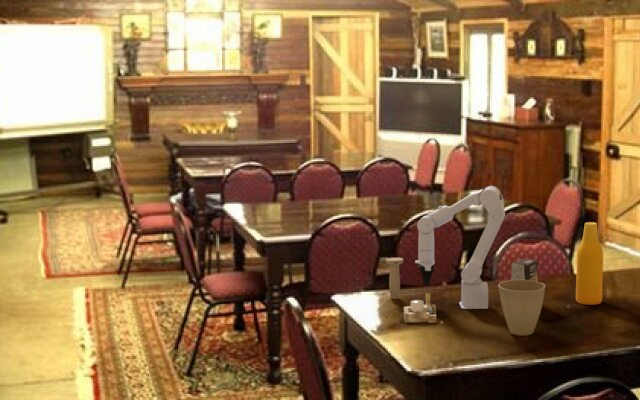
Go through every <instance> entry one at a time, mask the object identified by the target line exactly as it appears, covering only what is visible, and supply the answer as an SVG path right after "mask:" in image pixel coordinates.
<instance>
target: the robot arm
mask: <svg viewBox="0 0 640 400" xmlns="http://www.w3.org/2000/svg"><path fill="white" fill-rule="evenodd" d="M471 206H477V207H480V206H483V207H484V208H485V210H486V211H487V213H488V215H489V220H488V221H487V223H486V225H485V228H484V230H483V232H482V234H481V236H480V237H479V241H478V243H477V245H476V248H475V249H474V251H473V254H472V256H471V258H470V259H469V262H467V263H466V264H465V266H464V268H463V269H462V271H461V272H460V276H461V298H460V300H461V301H459V302H458V303H459V306H460V308H461V310H472V309H473V310H477V309H478V310H479V309H480V310H482V309H483V310H486V309H489V285H488V284H489V283H488V282H487V281H483V280H482V279H481V275H482V272H483V264H484V262H485V260H486V258H487V255H488V253H489V252H490V250H491V247H492V245H493V243H494V240H495V239H496V236H497V234H498V233H499V230H500V228H501V225H502V224H503V221H504V219H505V217H506V211H505V206H504V196H503V194H502V193H501V190H500V189H499V188H498V187H497V186H493V185H489V186H487V187H485V188H482V189H479V190H477V191H475V192H472V193H470V194H469V195H467V196H465V197H463V199H460V200H459V201H457V202H455V203H454V204H452V205H450V206H449V205H445V204H444V205H443V206H442V204H441V205H439V206H438V207H437V209H436V210H434V211H432V212H430V211H429V212H427V213H426V215H424V216H422V217H421V218H420V219H419V220H418V222H417V224H416V227H417V230H418V241H417V242H418V244H417V245H418V246H417V247H418V255H417V256H418V259H417V260H415V261H414V263H415V264H418V270H419V272H420V274H421V280H422V286H423V287H429V286H430V285H431V280H432V276H433V273H434V270H435V266H434V264H435V263H436V261H435V234H434V233H435V228H439V227H441V226H443V225H444V224H446V223H448V222H450V221H452V220H453V219H454V215H455V214H457V213H459V212H461V211H464V210H465V209H468V208H469V207H471Z"/></svg>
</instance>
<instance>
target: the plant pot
mask: <svg viewBox="0 0 640 400" xmlns="http://www.w3.org/2000/svg"><path fill="white" fill-rule="evenodd" d="M497 286H498V291H499V298H500V304H501V308H502V311H503V315H504V318H505V321H506V325H507V327H508V330H509V333H510V334H511V335H512V334H513V335H516V336H529V335H532V334H533V333H534V331H535V328H536V326H537V324H538V321H539V317H540V314H541V310H542V307H543V304H544V303H543V302H544V298H545V297H544V296H545V292H546V290H545V289H546V284H545V283H543V282H540V281H538V280H537V281H532V280H511V279H510V280H509V279H508V280H505V281H501V282H499V283H498V285H497Z"/></svg>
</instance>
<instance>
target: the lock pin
mask: <svg viewBox="0 0 640 400" xmlns="http://www.w3.org/2000/svg"><path fill="white" fill-rule="evenodd" d="M430 293H431V292H425V304H426V306H427V313H429V315H433V314H432V303H431V294H430Z"/></svg>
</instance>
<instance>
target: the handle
mask: <svg viewBox="0 0 640 400" xmlns="http://www.w3.org/2000/svg"><path fill="white" fill-rule="evenodd" d="M385 263H386V264H387V265H389V282H388V283H389V284H388V287H389V297H390V299H391V300H398V299H400V293H401V292H400V291H401V290H400V289H401V279H400V265H402V264H403V263H404V258H402V257H388V258H385Z"/></svg>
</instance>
